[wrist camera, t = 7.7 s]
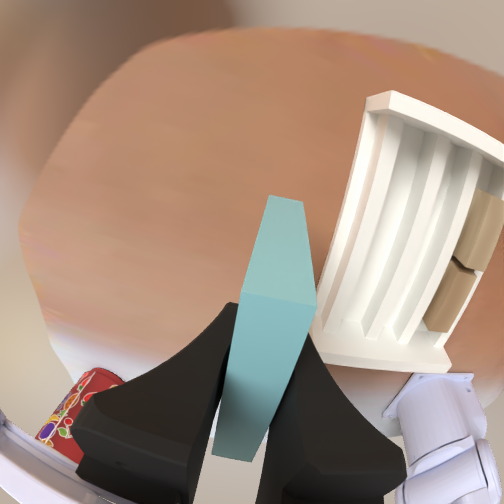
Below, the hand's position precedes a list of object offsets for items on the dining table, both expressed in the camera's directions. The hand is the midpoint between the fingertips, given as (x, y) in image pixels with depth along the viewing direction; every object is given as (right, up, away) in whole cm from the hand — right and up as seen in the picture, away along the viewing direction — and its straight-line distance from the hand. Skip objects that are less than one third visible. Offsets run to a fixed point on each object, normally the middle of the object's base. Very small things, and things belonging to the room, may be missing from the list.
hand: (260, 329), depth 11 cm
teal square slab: (+1, +2, +4) cm, 5 cm away
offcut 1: (+14, +1, +8) cm, 17 cm away
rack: (+11, +4, +8) cm, 15 cm away
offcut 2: (+15, +5, +6) cm, 17 cm away
